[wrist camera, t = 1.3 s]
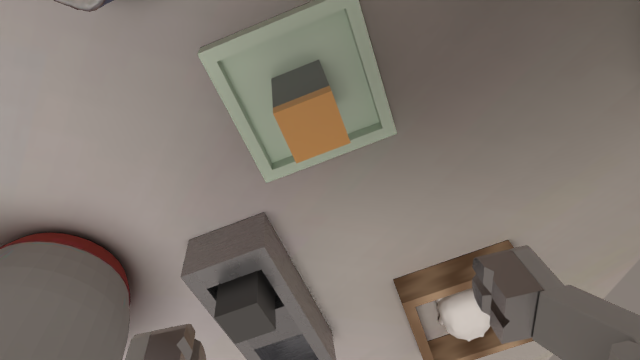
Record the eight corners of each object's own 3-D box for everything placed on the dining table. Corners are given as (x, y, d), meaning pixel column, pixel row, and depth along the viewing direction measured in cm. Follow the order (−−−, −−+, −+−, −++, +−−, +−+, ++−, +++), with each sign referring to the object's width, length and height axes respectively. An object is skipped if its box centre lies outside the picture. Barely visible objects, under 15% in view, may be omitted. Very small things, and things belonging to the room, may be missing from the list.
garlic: (491, 312, 52) (506, 337, 49) (441, 329, 53) (452, 355, 50) (482, 271, 48) (497, 296, 45) (427, 291, 49) (438, 317, 46)
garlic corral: (508, 240, 45) (524, 262, 43) (518, 317, 53) (533, 340, 50) (393, 279, 47) (402, 303, 44) (419, 349, 54) (428, 374, 51)
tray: (350, -15, 30) (355, -12, 28) (391, 124, 36) (397, 133, 35) (200, 47, 31) (197, 54, 29) (266, 172, 37) (266, 183, 36)
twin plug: (258, 247, 41) (257, 302, 35) (274, 273, 43) (275, 330, 37) (221, 260, 41) (214, 317, 35) (239, 286, 43) (235, 344, 37)
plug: (318, 59, 32) (331, 90, 26) (335, 104, 34) (350, 142, 28) (271, 78, 32) (273, 113, 26) (290, 122, 34) (296, 163, 28)
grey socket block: (264, 212, 40) (264, 246, 35) (331, 331, 50) (337, 369, 46) (189, 240, 40) (180, 277, 36) (271, 352, 51) (272, 390, 47)
